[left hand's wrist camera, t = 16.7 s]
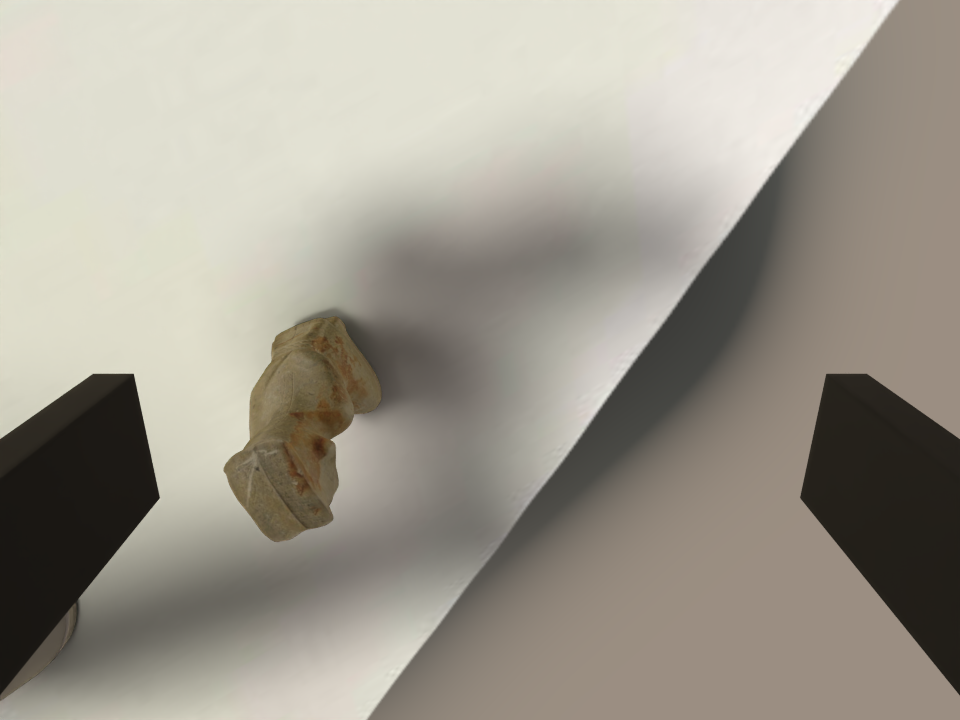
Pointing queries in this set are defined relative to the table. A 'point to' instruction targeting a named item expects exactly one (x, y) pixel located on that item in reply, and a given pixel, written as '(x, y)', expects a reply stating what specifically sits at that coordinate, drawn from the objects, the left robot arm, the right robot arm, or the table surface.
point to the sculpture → (300, 427)
